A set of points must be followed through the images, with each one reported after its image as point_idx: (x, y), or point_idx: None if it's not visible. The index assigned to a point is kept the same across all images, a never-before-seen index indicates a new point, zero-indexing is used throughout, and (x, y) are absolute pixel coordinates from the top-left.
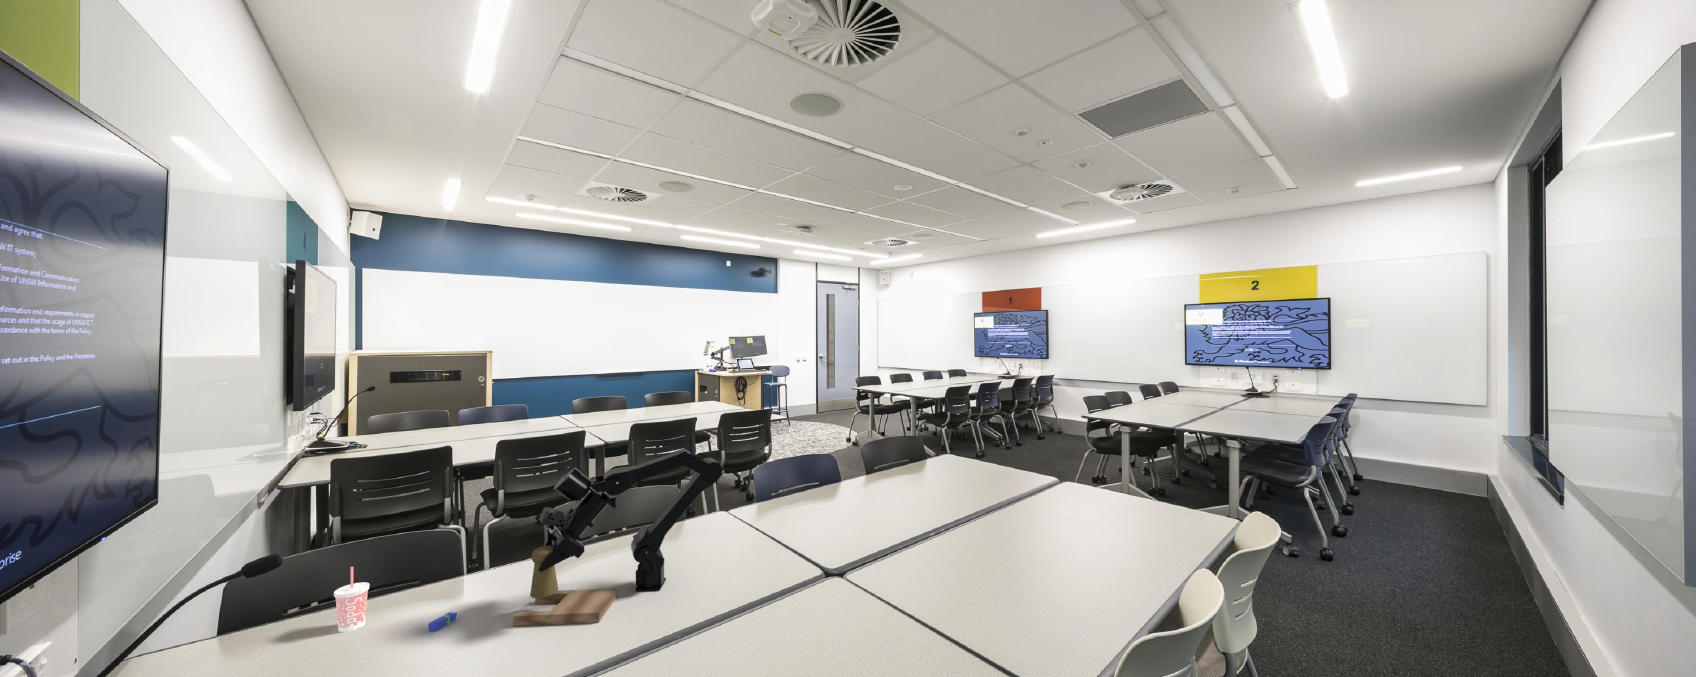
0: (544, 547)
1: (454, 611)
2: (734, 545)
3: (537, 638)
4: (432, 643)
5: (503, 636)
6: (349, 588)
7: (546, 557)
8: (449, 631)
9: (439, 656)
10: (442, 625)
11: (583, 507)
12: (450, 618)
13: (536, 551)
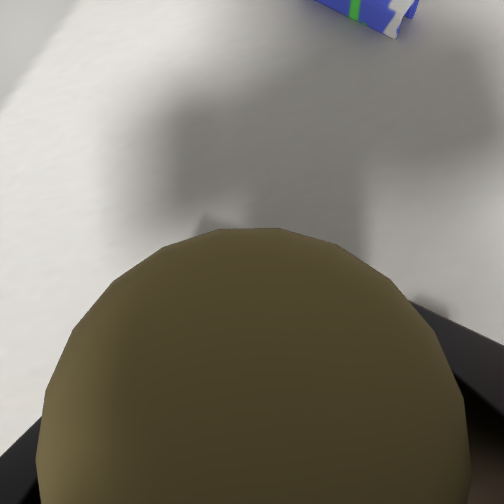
0: (241, 449)
1: (404, 2)
2: None
3: (9, 390)
4: (203, 12)
5: (116, 242)
6: None
7: (10, 485)
8: (276, 39)
9: (87, 57)
10: (329, 1)
11: None
12: (362, 9)
13: (151, 289)
